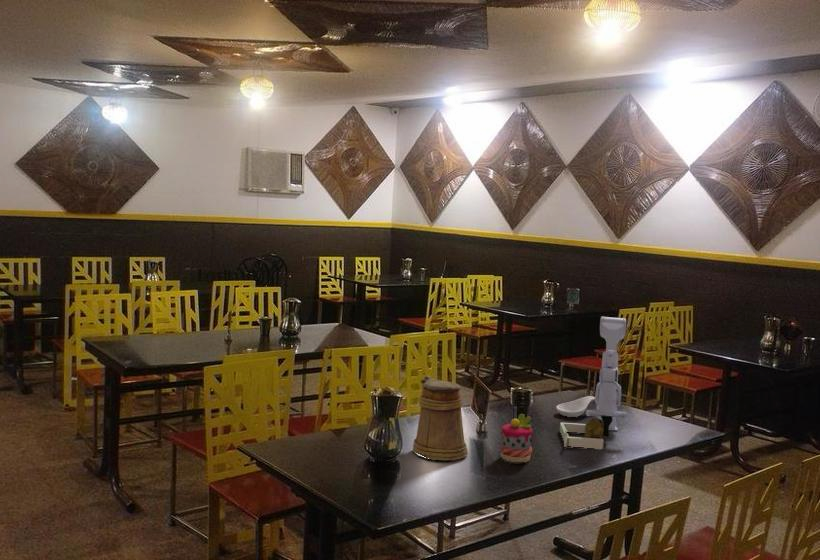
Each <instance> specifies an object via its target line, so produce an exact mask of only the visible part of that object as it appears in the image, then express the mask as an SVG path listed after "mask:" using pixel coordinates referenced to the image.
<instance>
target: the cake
mask: <svg viewBox="0 0 820 560" xmlns="http://www.w3.org/2000/svg"><path fill="white" fill-rule="evenodd" d="M531 420H532V419H531V416H526V417H525V414H524V413H520V414H519V415H518V417H514V418H513V419H511V421H510V423H507V424H504V425H503V426H502V427H501V446H500V447H499V449H500V450H501V451H500V452H501V453H500V458H501V457H502V458H503V459H505V460H507V461H511V462H527V461H529V460H530V461H531V454H532V453H533V448H532V447H533V446H532V443H533V442H532V441H533V439H532V437H533V429H532V425H531V424H529V423H530V422H531Z"/></svg>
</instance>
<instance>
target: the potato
mask: <svg viewBox="0 0 820 560" xmlns="http://www.w3.org/2000/svg"><path fill="white" fill-rule="evenodd" d="M585 424H586V425H585V434H584V438H595V439H602V437H604V436H603V431H604V425H603V422H602V420H600V419H598V418H597V417H591V418H589V419H588V420H587V421H586V422H585Z"/></svg>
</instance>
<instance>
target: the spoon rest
mask: <svg viewBox="0 0 820 560" xmlns="http://www.w3.org/2000/svg"><path fill="white" fill-rule="evenodd" d="M593 401H595V396H592V395H587V396H584V397H580V398H578V399H575V400H572V401H568V402H564V403H560V404H557V405H556V407H555V408H556V410H557V412H558V413H559V414H560V415H562V416H563V417H565V416H567V418H570V417H576V418H579V417H580V416H581V415H583V414H584V413H585V412H586V410H587V409H588V406H589V405H590V403H591V402H593ZM597 408H598V404H596V409H595V410H597ZM578 416H579V417H578Z"/></svg>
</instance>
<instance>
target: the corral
mask: <svg viewBox="0 0 820 560" xmlns="http://www.w3.org/2000/svg"><path fill="white" fill-rule="evenodd" d="M585 425H586V423H576V422H575V423H573V422H560V423H559V433H561V434H560V436H561V435H562V436H561V438H563V439H562V442H563V441H564V440H565V430H567V432H577V433H576V434H580V433H585ZM566 446H571V447H570V448H573V447H584V448H583V449H587V448H594V449H593V450H602V449H603V450H604V439H603V438H601V439H595V438H585V437H580V436H579V437H577V436H569V433H567V444H566Z"/></svg>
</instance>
